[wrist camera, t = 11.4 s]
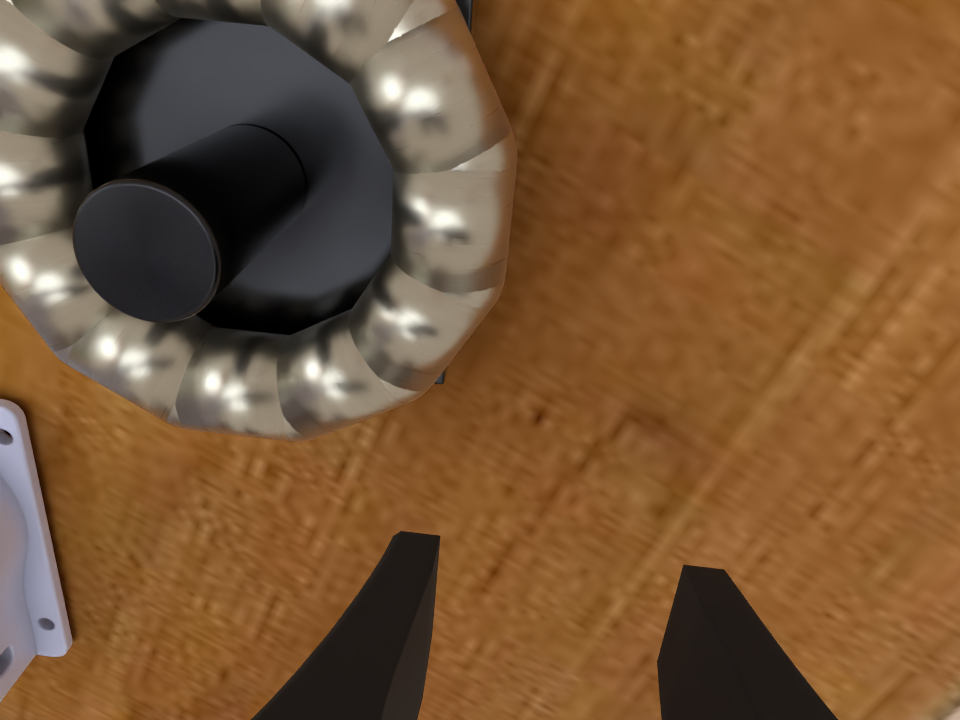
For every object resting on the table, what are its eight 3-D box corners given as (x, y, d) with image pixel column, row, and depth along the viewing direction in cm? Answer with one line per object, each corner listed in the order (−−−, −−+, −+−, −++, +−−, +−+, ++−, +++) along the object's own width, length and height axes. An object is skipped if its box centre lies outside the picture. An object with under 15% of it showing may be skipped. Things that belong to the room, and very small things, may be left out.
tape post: (449, 363, 20) (412, 514, 14) (104, 324, 20) (-66, 458, 14) (480, -30, 15) (445, -35, 10) (47, -73, 16) (-224, -102, 10)
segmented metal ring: (490, 427, 19) (483, 484, 17) (48, 378, 19) (-14, 428, 17) (544, -96, 14) (545, -110, 12) (-56, -151, 14) (-162, -174, 12)
